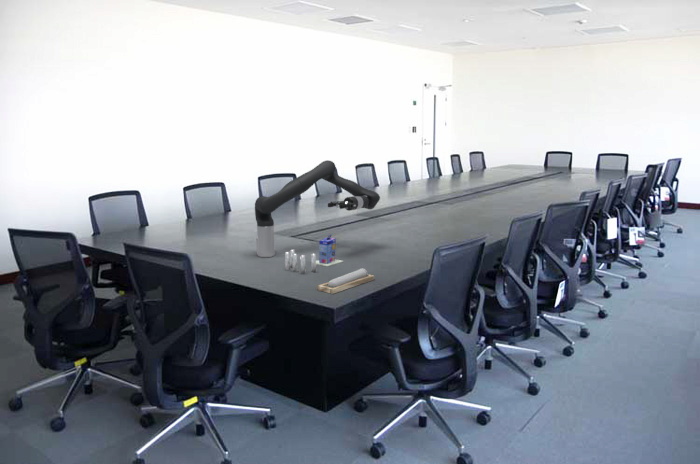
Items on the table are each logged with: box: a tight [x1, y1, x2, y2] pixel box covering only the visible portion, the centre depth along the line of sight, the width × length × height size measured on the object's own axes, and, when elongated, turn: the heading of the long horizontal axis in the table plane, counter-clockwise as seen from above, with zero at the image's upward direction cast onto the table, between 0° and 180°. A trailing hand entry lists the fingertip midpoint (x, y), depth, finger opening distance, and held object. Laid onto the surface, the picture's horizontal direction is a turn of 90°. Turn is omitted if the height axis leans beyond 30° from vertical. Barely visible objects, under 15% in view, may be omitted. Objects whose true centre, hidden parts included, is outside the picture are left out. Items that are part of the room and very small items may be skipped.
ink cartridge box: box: [318, 234, 337, 264], centre depth 291 cm, size 10×6×14 cm, turn 157°
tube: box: [328, 267, 368, 288], centre depth 251 cm, size 5×5×25 cm
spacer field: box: [284, 248, 317, 275], centre depth 276 cm, size 17×8×9 cm, turn 50°
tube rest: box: [316, 274, 375, 295], centre depth 251 cm, size 9×29×2 cm, turn 140°
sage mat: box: [316, 258, 344, 267], centre depth 292 cm, size 12×13×1 cm
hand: (334, 206), depth 294 cm, fingers open, 8 cm apart
